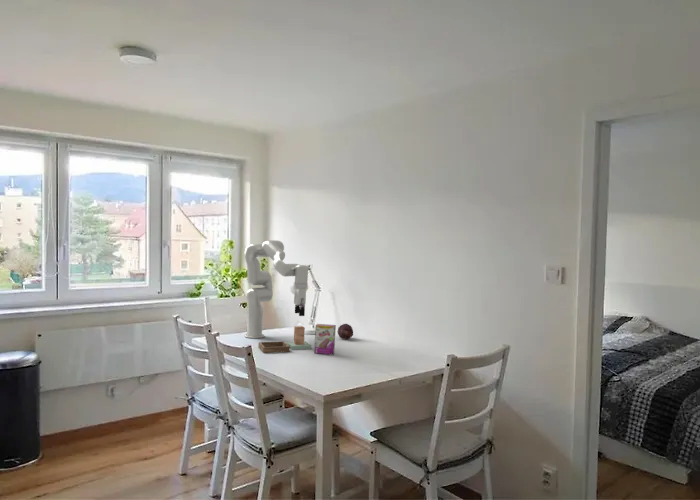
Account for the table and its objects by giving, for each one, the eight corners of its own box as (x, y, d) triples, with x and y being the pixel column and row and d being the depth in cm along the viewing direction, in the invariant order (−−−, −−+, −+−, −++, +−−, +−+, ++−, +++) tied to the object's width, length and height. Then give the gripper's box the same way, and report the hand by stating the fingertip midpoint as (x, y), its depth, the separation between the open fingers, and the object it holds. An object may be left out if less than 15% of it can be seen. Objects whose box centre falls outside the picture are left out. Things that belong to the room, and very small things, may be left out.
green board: (286, 345, 315) (286, 342, 315) (305, 344, 319) (305, 341, 319) (291, 349, 304) (291, 346, 304) (311, 348, 308) (311, 345, 308)
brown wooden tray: (258, 347, 307) (258, 342, 307) (283, 346, 312) (283, 341, 312) (263, 353, 293) (263, 347, 293) (289, 351, 298) (289, 346, 298)
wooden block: (293, 343, 313) (294, 326, 313) (301, 342, 315) (302, 326, 315) (295, 344, 308) (296, 327, 308) (304, 344, 310) (304, 327, 310)
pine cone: (333, 336, 349) (334, 321, 348) (347, 336, 352) (348, 321, 352) (342, 341, 332) (342, 326, 332) (356, 341, 335) (357, 325, 335)
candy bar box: (314, 353, 295) (315, 324, 295) (315, 351, 300) (316, 323, 300) (333, 355, 294) (334, 325, 294) (334, 353, 299) (335, 324, 299)
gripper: (291, 284, 318) (289, 312, 318) (298, 287, 301) (297, 317, 302) (303, 284, 320) (301, 312, 321) (311, 287, 304) (309, 317, 305)
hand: (299, 314), depth 311 cm, fingers open, 9 cm apart
